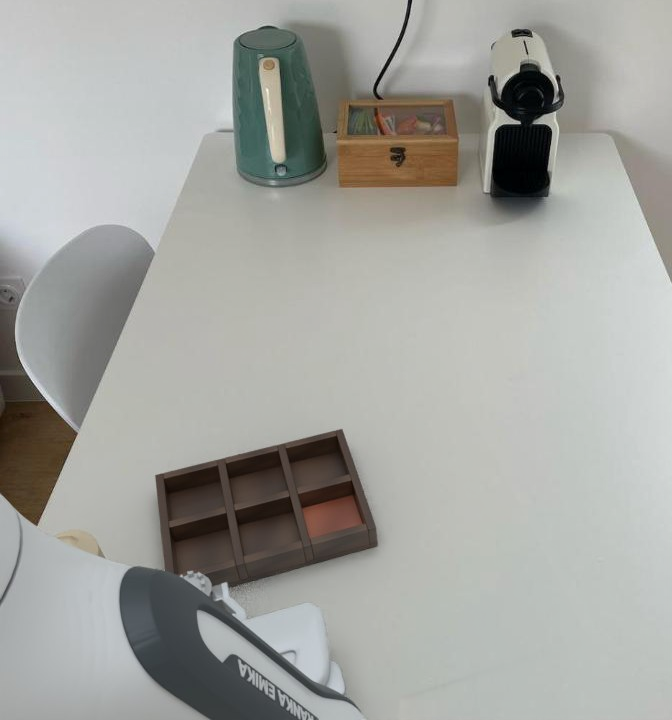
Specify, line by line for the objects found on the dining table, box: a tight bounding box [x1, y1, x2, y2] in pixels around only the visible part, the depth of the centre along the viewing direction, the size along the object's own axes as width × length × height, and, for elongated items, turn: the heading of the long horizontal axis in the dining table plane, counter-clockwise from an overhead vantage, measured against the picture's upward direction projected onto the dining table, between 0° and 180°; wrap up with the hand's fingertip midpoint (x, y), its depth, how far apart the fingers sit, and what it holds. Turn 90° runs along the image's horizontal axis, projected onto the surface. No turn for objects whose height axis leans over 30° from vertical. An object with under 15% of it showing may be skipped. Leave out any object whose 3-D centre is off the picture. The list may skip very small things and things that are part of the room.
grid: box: [154, 428, 379, 588], centre depth 81 cm, size 20×13×3 cm
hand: (195, 594), depth 70 cm, fingers closed on rook chess piece, 3 cm apart
